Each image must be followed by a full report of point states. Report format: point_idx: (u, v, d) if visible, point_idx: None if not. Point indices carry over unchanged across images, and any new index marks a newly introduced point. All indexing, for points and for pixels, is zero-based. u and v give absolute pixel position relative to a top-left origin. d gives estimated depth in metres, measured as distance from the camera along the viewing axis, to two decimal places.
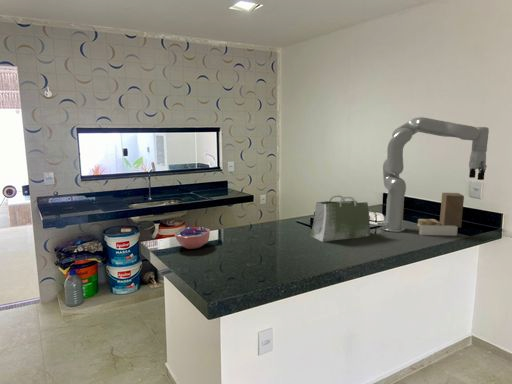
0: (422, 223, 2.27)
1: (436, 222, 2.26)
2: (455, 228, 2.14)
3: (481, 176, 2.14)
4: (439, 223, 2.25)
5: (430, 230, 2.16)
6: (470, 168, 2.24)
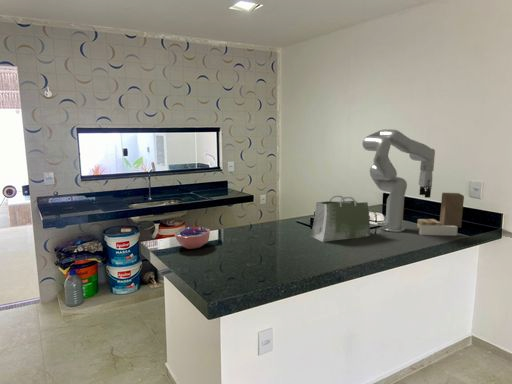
0: (423, 223, 2.27)
1: (436, 222, 2.26)
2: (455, 228, 2.14)
3: (427, 194, 2.32)
4: (439, 223, 2.25)
5: (430, 230, 2.16)
6: (420, 186, 2.42)
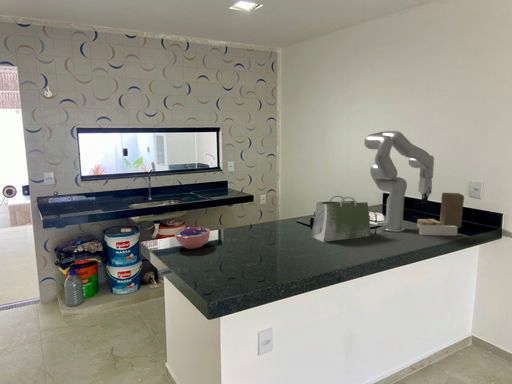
0: (423, 223, 2.27)
1: (436, 222, 2.26)
2: (455, 228, 2.14)
3: (425, 201, 2.37)
4: (439, 223, 2.25)
5: (430, 230, 2.16)
6: (422, 195, 2.39)
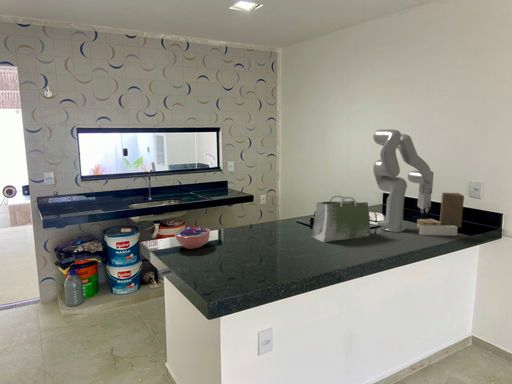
0: (423, 223, 2.26)
1: (437, 222, 2.26)
2: (455, 228, 2.14)
3: (424, 216, 2.37)
4: (440, 223, 2.26)
5: (430, 230, 2.16)
6: None
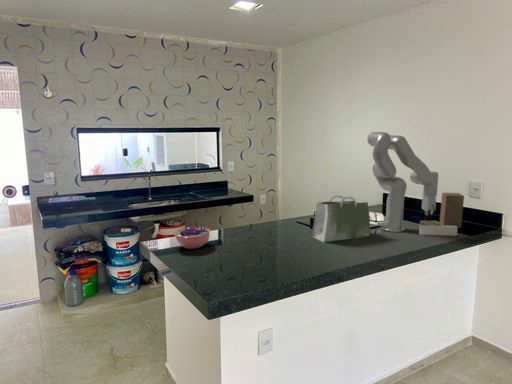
0: None
1: (440, 224, 2.22)
2: (455, 228, 2.14)
3: (428, 219, 2.30)
4: (443, 225, 2.22)
5: (430, 230, 2.16)
6: (425, 212, 2.33)
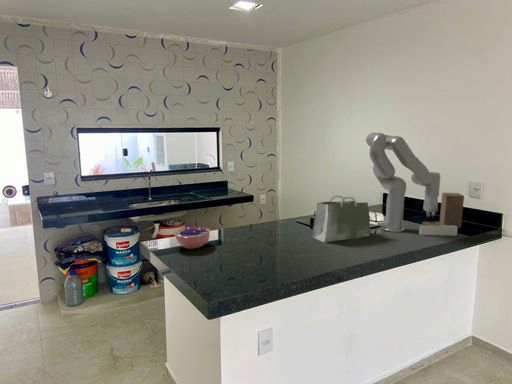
0: None
1: (442, 225, 2.19)
2: (455, 228, 2.14)
3: (430, 220, 2.27)
4: None
5: (430, 230, 2.16)
6: (427, 213, 2.30)
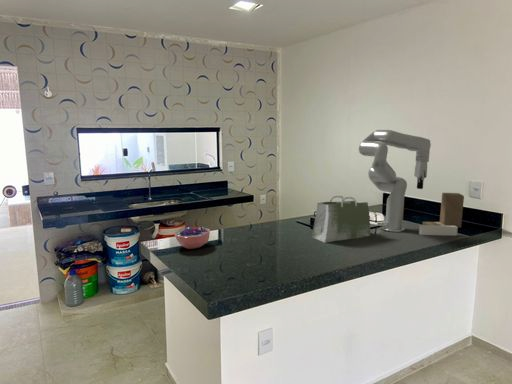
0: None
1: None
2: (455, 228, 2.14)
3: (420, 185, 2.35)
4: None
5: (430, 230, 2.16)
6: (417, 179, 2.37)
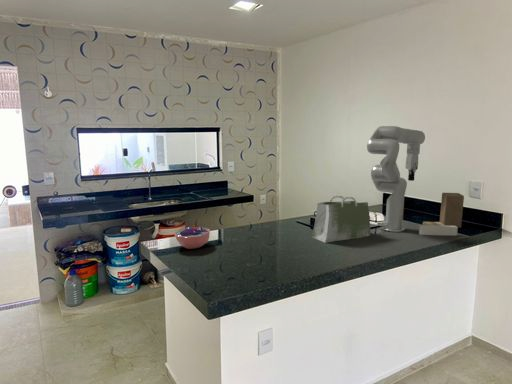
0: None
1: None
2: (455, 228, 2.14)
3: (411, 177, 2.40)
4: None
5: (430, 230, 2.16)
6: None
